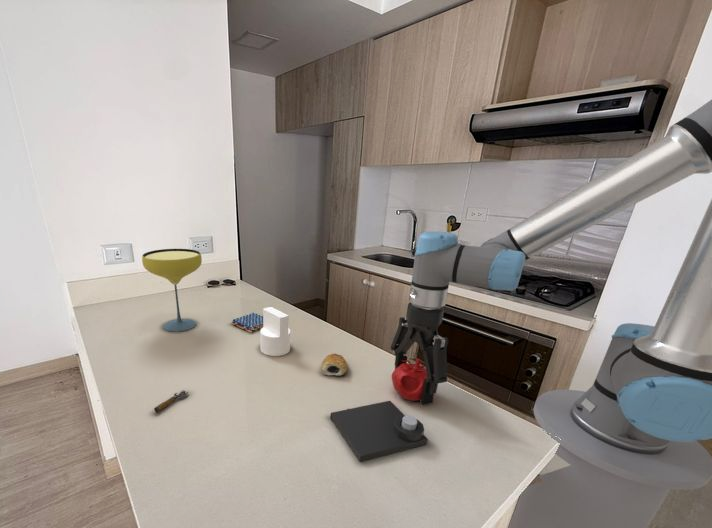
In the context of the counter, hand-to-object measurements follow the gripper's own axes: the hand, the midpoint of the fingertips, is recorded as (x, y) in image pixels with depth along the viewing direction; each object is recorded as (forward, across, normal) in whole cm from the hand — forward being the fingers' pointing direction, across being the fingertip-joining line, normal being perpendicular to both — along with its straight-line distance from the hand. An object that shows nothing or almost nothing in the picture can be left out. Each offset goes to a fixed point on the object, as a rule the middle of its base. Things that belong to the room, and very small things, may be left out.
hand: (411, 390), depth 83 cm
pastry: (+1, -16, -13) cm, 21 cm away
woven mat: (+1, -52, -28) cm, 59 cm away
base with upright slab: (+1, -32, -25) cm, 41 cm away
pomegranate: (+1, 0, 0) cm, 1 cm away
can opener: (+1, -13, -55) cm, 57 cm away
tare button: (-2, +12, -10) cm, 16 cm away
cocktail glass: (0, -58, -52) cm, 78 cm away
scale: (+1, +9, -15) cm, 18 cm away
